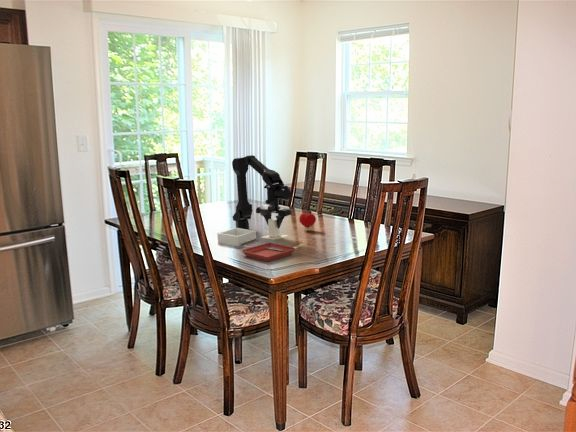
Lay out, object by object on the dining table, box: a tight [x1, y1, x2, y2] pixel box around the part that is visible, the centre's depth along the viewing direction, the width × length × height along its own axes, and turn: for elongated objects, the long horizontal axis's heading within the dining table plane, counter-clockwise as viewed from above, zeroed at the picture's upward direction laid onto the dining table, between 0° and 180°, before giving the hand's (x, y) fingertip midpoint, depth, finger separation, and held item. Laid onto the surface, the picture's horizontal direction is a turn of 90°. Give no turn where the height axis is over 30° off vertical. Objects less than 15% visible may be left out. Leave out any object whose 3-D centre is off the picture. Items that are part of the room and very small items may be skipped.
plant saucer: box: [241, 242, 296, 262], centre depth 257 cm, size 18×18×3 cm
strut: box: [267, 217, 281, 238], centre depth 286 cm, size 4×4×9 cm
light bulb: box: [298, 212, 317, 232], centre depth 298 cm, size 9×7×10 cm
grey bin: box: [216, 227, 257, 247], centre depth 282 cm, size 14×14×5 cm
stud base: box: [260, 233, 289, 241], centre depth 287 cm, size 10×10×5 cm
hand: (273, 227), depth 286 cm, fingers open, 6 cm apart
